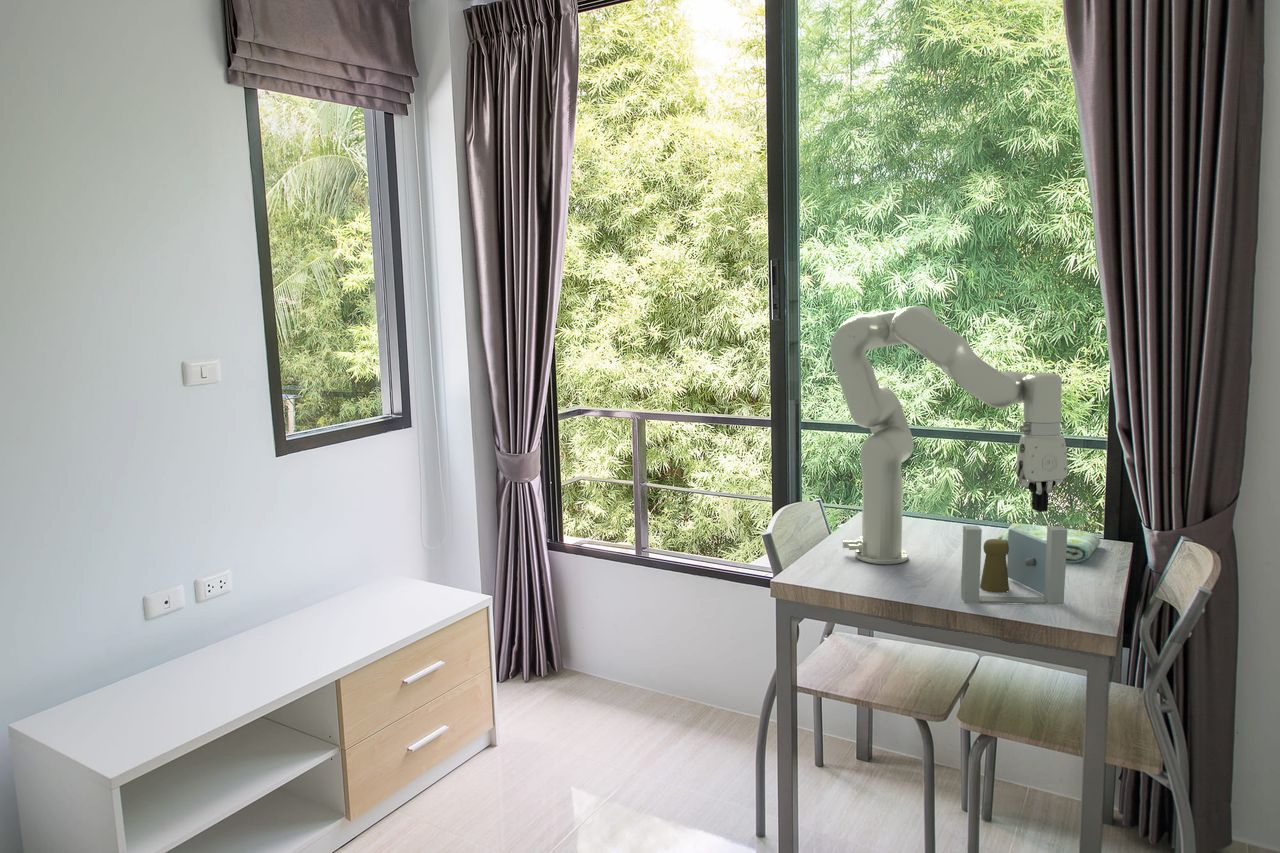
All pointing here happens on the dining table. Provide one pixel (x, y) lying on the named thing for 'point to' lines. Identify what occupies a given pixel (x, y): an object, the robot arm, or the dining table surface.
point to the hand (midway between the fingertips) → (1039, 510)
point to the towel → (1077, 540)
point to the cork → (995, 567)
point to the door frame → (1051, 594)
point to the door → (1026, 560)
